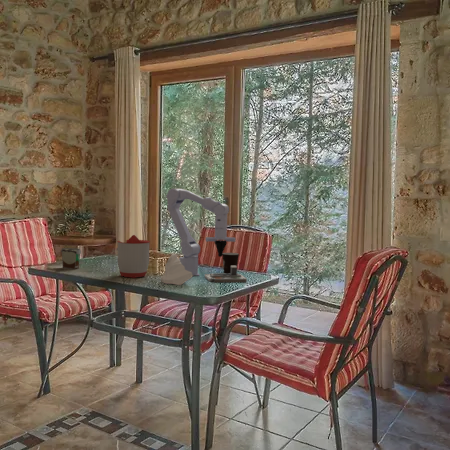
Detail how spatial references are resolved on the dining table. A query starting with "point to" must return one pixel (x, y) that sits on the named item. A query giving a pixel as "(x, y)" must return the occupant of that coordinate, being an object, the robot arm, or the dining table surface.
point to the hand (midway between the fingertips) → (220, 256)
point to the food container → (70, 257)
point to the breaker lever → (233, 270)
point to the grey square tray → (228, 280)
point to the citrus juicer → (133, 257)
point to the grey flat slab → (223, 276)
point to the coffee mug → (229, 261)
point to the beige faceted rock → (175, 272)
